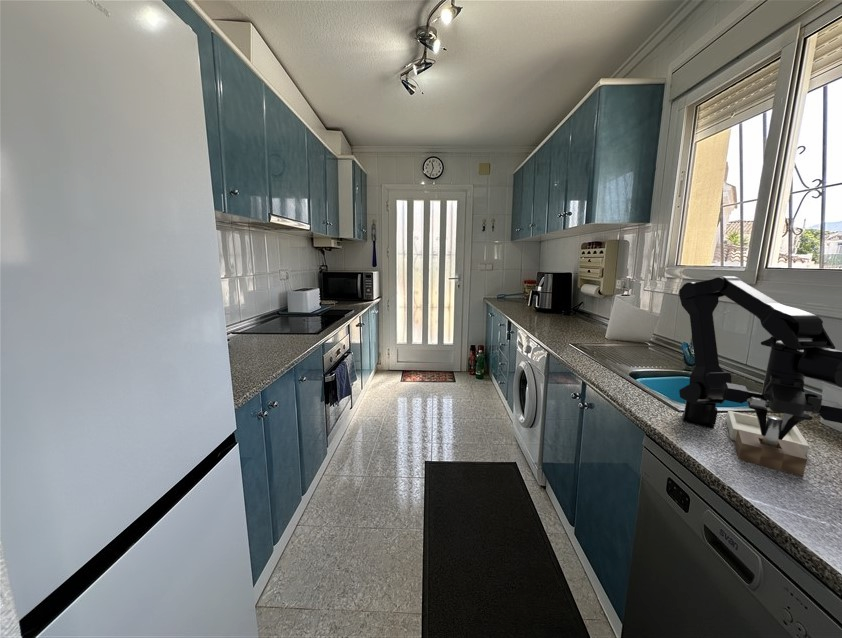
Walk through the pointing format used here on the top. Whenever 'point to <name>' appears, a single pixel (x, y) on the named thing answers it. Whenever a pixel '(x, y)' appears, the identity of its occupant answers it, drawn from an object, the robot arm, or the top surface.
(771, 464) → the block
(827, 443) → the top surface
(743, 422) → the tray
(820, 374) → the robot arm
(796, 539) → the top surface
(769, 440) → the lock pin
